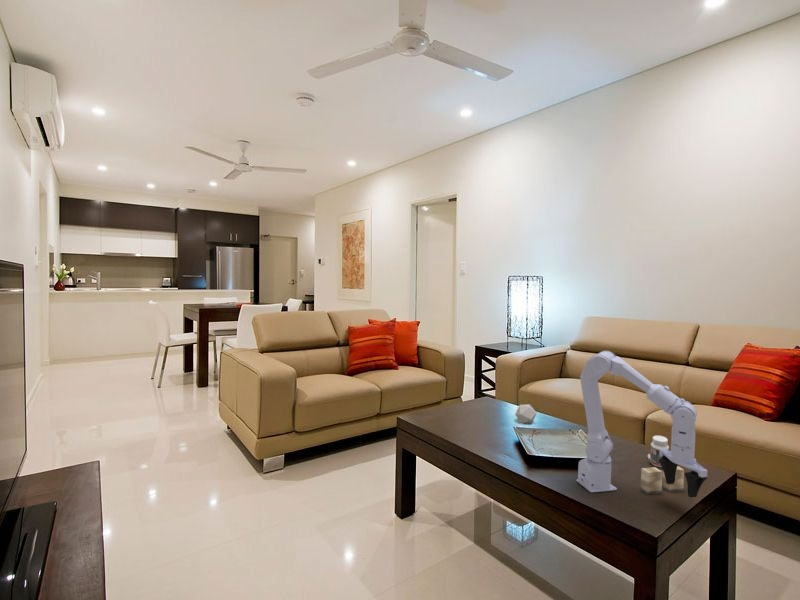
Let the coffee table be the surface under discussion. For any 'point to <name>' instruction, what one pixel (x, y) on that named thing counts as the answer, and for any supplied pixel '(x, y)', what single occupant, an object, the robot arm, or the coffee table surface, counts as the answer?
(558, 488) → the coffee table surface
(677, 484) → the beech tile
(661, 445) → the pill bottle
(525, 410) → the die
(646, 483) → the beech tile
